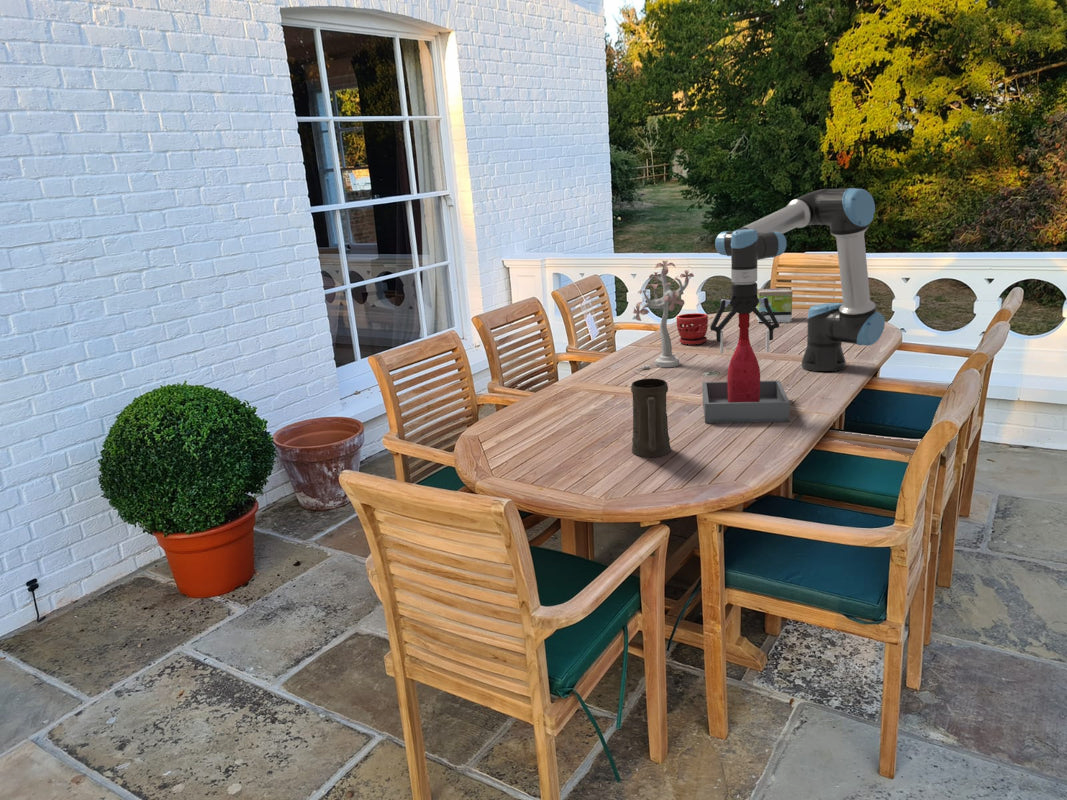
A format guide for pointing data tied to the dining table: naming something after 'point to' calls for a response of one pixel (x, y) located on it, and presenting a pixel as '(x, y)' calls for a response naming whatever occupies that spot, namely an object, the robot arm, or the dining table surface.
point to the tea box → (776, 304)
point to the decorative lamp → (663, 302)
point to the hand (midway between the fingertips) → (744, 351)
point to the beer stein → (650, 418)
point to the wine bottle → (743, 368)
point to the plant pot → (692, 328)
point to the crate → (745, 404)
